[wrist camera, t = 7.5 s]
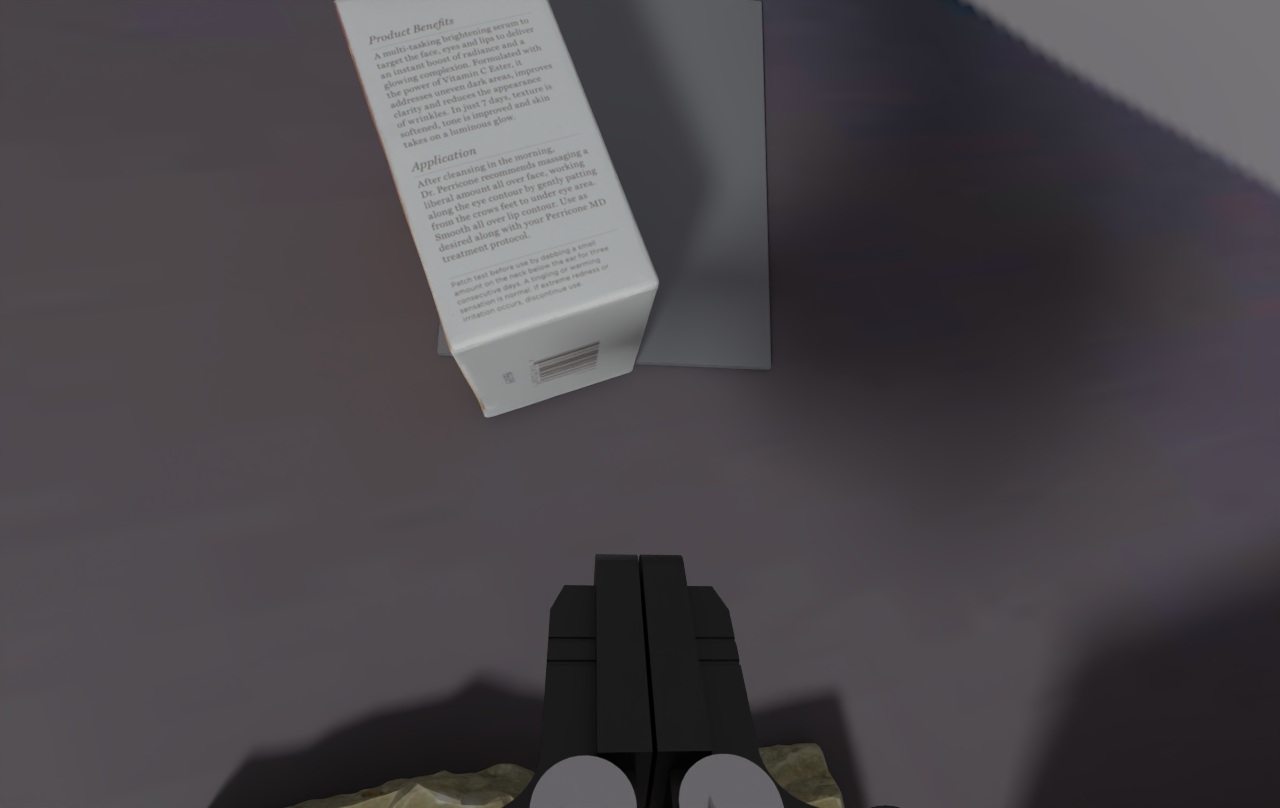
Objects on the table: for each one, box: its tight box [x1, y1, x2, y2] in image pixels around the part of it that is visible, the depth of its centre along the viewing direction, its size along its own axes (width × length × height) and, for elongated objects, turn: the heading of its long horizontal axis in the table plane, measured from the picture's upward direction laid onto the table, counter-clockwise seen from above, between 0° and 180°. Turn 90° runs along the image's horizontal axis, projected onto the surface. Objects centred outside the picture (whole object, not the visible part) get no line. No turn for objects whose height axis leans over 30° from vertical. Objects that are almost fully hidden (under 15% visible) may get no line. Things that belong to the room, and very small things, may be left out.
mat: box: [437, 0, 771, 370], centre depth 27 cm, size 12×16×1 cm
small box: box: [334, 0, 659, 417], centre depth 22 cm, size 8×6×10 cm
